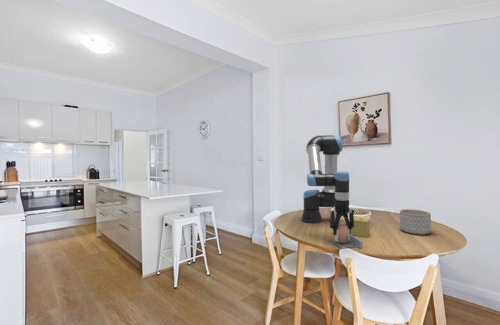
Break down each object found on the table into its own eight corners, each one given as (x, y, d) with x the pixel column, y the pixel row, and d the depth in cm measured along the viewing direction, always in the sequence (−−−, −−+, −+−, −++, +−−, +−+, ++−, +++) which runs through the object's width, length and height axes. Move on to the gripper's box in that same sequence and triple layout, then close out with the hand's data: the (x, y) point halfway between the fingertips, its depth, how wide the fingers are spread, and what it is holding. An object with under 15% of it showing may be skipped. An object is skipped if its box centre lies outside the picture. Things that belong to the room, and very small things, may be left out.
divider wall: (344, 238, 145) (344, 231, 145) (345, 238, 145) (345, 231, 145) (360, 248, 129) (360, 241, 129) (362, 248, 129) (362, 241, 129)
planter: (436, 236, 147) (436, 215, 146) (406, 235, 150) (406, 214, 150) (422, 228, 163) (422, 209, 162) (395, 227, 166) (395, 208, 166)
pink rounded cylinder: (334, 239, 139) (334, 223, 138) (344, 238, 140) (344, 223, 139) (339, 243, 133) (339, 226, 132) (349, 242, 134) (349, 226, 133)
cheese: (369, 233, 155) (369, 217, 154) (368, 238, 145) (368, 221, 145) (352, 230, 160) (352, 215, 160) (349, 235, 151) (349, 219, 151)
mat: (329, 240, 141) (329, 239, 141) (343, 239, 143) (343, 238, 143) (340, 248, 129) (340, 247, 129) (355, 247, 131) (355, 246, 131)
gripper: (329, 201, 130) (329, 243, 131) (361, 199, 133) (361, 241, 134) (322, 198, 138) (323, 239, 138) (353, 197, 140) (353, 237, 141)
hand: (342, 240), depth 136 cm, fingers closed on pink rounded cylinder, 6 cm apart
